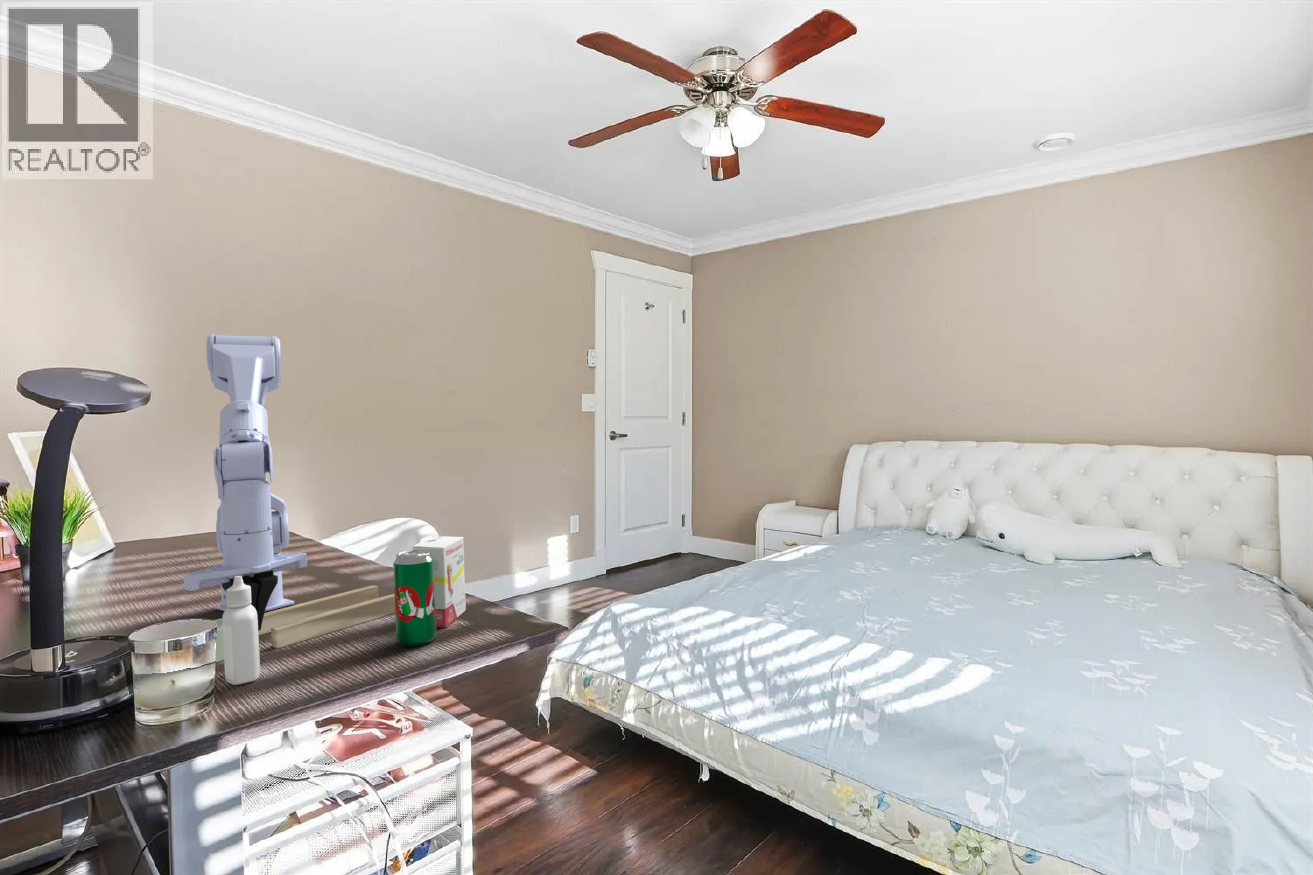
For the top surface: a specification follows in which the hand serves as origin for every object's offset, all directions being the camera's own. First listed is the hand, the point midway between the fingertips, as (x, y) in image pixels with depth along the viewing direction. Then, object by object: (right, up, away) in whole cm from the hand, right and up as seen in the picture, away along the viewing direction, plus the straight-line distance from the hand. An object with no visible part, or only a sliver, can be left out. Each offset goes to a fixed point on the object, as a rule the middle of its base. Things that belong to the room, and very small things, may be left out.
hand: (252, 630), depth 86 cm
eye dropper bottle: (+6, -2, -11) cm, 13 cm away
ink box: (+23, -1, +9) cm, 24 cm away
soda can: (+22, -2, 0) cm, 23 cm away
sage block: (-2, -2, -4) cm, 5 cm away
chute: (+6, -1, +9) cm, 11 cm away
